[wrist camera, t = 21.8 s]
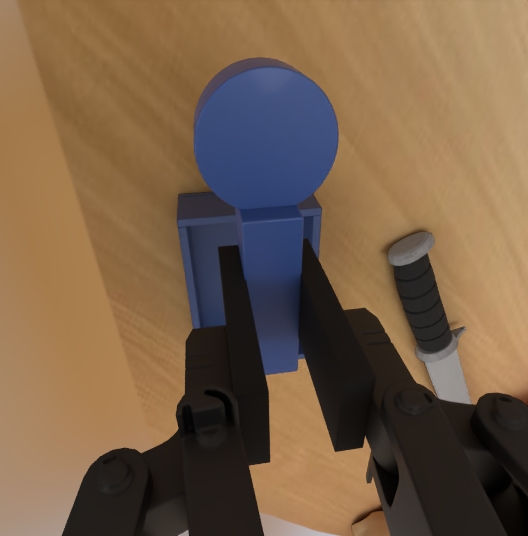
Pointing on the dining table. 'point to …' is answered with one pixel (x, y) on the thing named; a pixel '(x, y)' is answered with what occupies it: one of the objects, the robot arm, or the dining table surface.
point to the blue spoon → (267, 182)
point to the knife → (428, 316)
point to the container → (372, 526)
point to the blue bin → (206, 249)
